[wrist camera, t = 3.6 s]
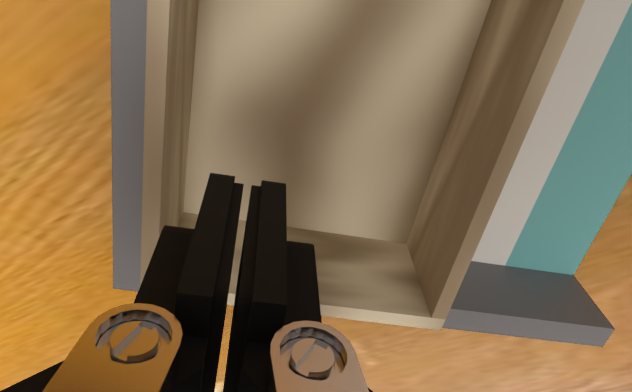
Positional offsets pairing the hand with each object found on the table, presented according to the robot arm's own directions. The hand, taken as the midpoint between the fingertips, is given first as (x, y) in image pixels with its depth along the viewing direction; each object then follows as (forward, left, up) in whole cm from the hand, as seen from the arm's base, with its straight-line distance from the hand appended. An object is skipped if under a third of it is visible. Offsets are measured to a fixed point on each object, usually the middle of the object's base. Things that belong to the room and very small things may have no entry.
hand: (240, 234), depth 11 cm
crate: (-3, 0, -11) cm, 11 cm away
